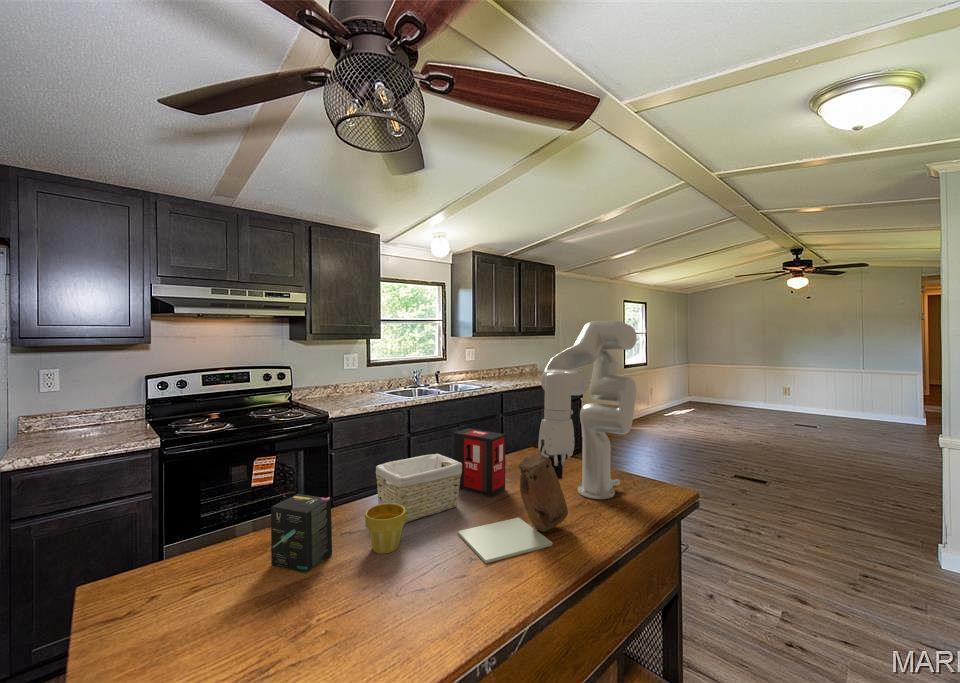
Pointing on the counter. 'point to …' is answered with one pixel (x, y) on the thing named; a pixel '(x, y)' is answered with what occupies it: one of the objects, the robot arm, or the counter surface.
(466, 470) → the cleaning product box
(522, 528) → the cutting board
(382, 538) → the plant pot
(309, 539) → the tampon box
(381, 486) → the storage basket
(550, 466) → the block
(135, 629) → the counter surface
